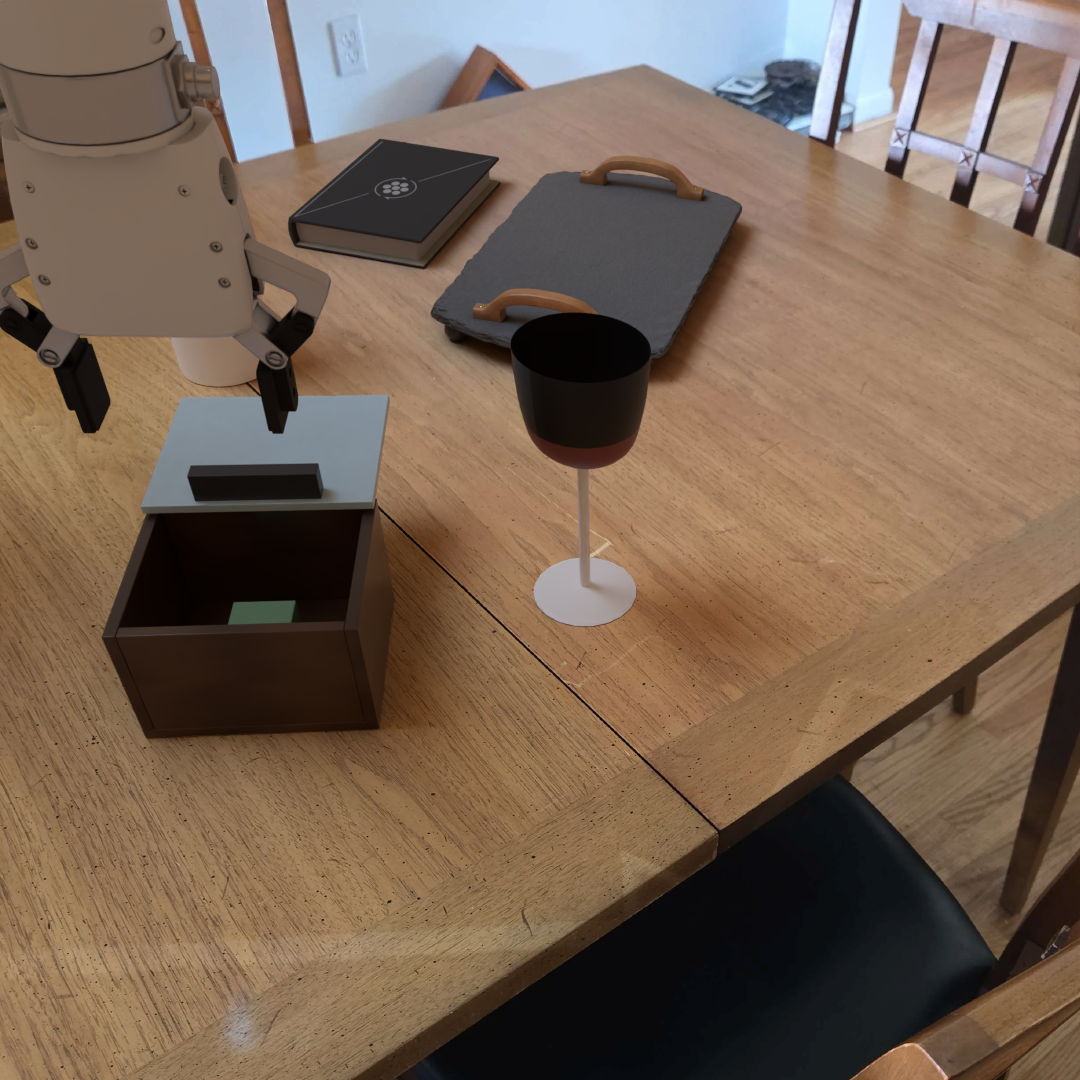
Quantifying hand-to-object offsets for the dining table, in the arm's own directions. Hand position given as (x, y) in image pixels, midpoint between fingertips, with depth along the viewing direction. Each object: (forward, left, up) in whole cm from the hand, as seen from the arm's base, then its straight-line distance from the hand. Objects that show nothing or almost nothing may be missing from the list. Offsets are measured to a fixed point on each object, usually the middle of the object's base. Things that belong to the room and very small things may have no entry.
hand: (190, 419), depth 63 cm
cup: (-9, +39, -20) cm, 45 cm away
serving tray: (+24, +54, -20) cm, 63 cm away
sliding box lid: (+1, +12, -11) cm, 16 cm away
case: (+1, +1, -20) cm, 20 cm away
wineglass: (+22, +7, -20) cm, 30 cm away
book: (+4, +69, -20) cm, 72 cm away
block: (+1, 0, -19) cm, 19 cm away
